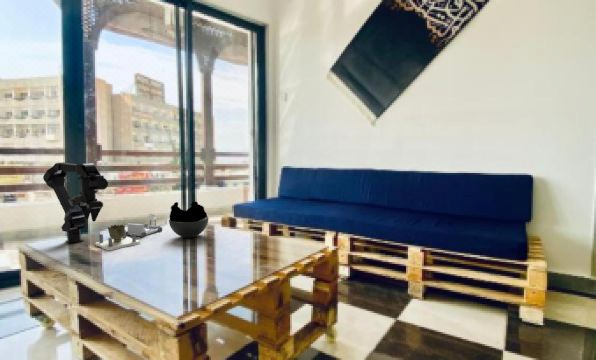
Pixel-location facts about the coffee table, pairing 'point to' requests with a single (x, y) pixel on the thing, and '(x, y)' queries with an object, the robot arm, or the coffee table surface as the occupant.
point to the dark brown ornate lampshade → (116, 232)
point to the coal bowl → (188, 220)
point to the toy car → (143, 228)
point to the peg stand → (112, 245)
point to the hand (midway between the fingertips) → (90, 220)
